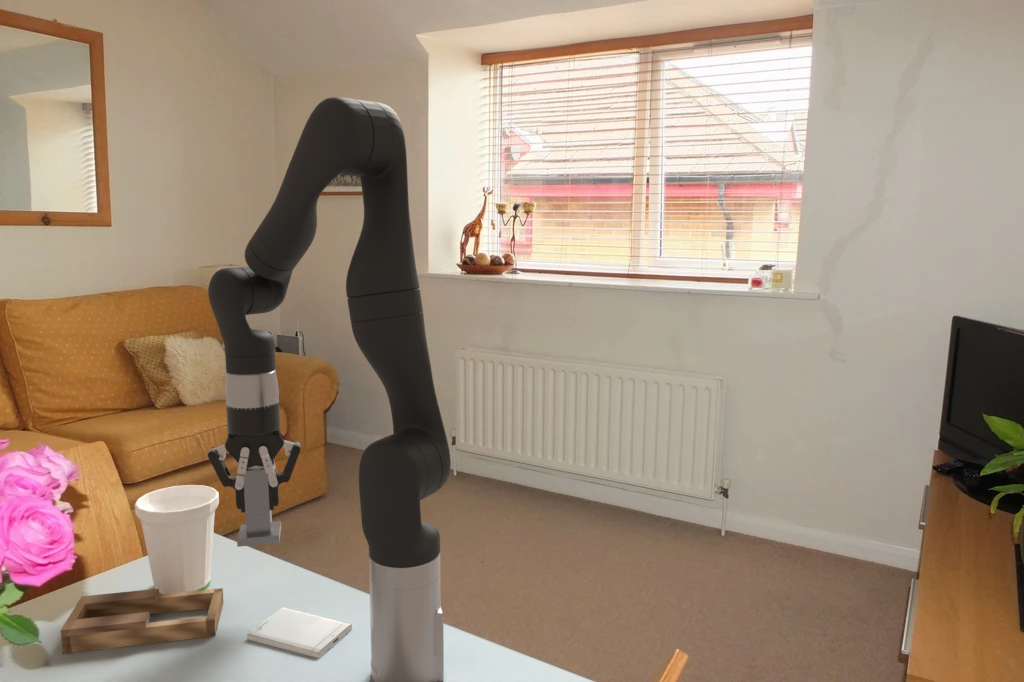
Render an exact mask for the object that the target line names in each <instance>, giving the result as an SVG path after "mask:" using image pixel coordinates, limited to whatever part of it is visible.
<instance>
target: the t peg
mask: <svg viewBox="0 0 1024 682" xmlns="http://www.w3.org/2000/svg"><path fill="white" fill-rule="evenodd" d="M243 479H244V497H245V512H244V514H245V523H243V524H241V525H240V526H239V531H238V534H237V538H236V544H237V545H236V547H250V546H259V545H260V546H261V545H270V544H271V545H272V544H277V543H278V544H280V539H281V532H282V521H281V520H276V521H273V515H272V510H270V504H269V480H268V474H266V472H265V469H264V466H263V467H260V466H253V467H249V468H247V469H246V474H245V476H243Z"/></svg>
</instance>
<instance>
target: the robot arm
mask: <svg viewBox="0 0 1024 682" xmlns="http://www.w3.org/2000/svg"><path fill="white" fill-rule="evenodd" d="M406 146H407V144H406V136H405V132H404V128H403V125H402V122H401V120H400V117H399V115H398V113H396V111H395V110H394V109H393V108H392V107H390V106H389V105H388V104H385V103H383V102H378V101H372V100H364V99H359V98H358V99H357V98H351V97H342V96H332V97H328V98H325V99H323V100H322V101H321V102H319V103H318V104H317V105H316V106H315V108H314V109H313V110H312V112H311V113H310V115H309V117H308V119H307V121H306V122H305V125H304V127H303V129H302V132H301V135H300V137H299V139H298V142H297V145H296V147H295V149H294V152H293V155H292V157H291V159H290V162H289V164H288V167H287V169H286V172H285V175H284V178H283V180H282V182H281V185H280V188H279V190H278V192H277V195H276V197H275V199H274V201H273V203H272V205H271V207H270V208H269V211H268V212H267V214H266V215H265V216H264V218H263V219H262V221H261V223H260V224H259V226H258V227H257V229H256V230H255V232H254V233H253V235H252V236H251V238H250V240H249V241H248V243H247V245H246V247H245V250H244V260H245V263H246V265H247V266H238V267H223V268H220V269H219V270H216V272H215V273H214V274H213V275H212V276H211V278H210V281H209V283H208V288H207V289H208V290H207V292H208V293H207V294H208V296H207V297H208V300H209V304H210V306H211V309H212V312H213V315H214V317H215V320H216V323H217V327H218V330H219V332H220V336H221V339H222V342H223V345H224V355H225V358H224V359H225V372H226V373H225V385H224V388H225V389H224V390H225V391H224V392H225V406H226V423H227V425H226V426H227V437H226V440H225V443H224V444H222V445H219V446H217V447H216V446H212V447H211V448H210V449H209V451H208V453H207V458H208V459H209V461H210V463H211V466H212V467H213V470H214V471H215V474H216V476H217V477H218V479H219V481H220V483H221V485H222V487H224V488H226V487H227V488H228V487H230V488H232V489H234V491H235V505H236V508H237V510H240V511H241V514H243V513H244V514H245V497H244V479H243V476H245V474H246V469H247V468H249V467H253V466H260V467H263V466H264V469H265V472H266V474H268V480H269V504H270V510H271V511H274V510H275V507H278V506H279V503H280V489H279V486H280V485H281V484H282V483H289V481H290V479H291V476H292V474H293V471H294V469H295V467H296V463H297V461H298V458H299V456H300V452H301V446H302V445H301V442H299V441H294V442H293V441H291V440H286V439H285V436H283V434H282V431H281V420H280V416H281V414H280V413H281V412H280V400H279V397H280V389H279V382H278V376H277V370H276V366H277V365H276V350H275V348H276V347H275V340H274V336H273V335H272V333H271V332H269V331H266V330H262V329H252V328H251V326H250V324H249V322H248V320H247V317H246V316H249V315H250V316H251V315H259V314H267V313H271V312H273V311H274V310H277V308H278V307H280V305H282V303H283V302H284V300H285V298H286V295H287V292H288V288H289V284H290V282H291V277H292V274H293V271H294V269H295V268H296V266H298V264H299V263H300V261H301V260H302V258H303V257H304V255H305V254H306V253H307V252H308V250H309V248H310V247H311V245H312V243H313V242H314V239H315V236H316V232H317V227H318V213H317V212H318V211H317V209H318V208H317V206H318V200H319V198H320V196H321V194H322V193H323V192H324V190H325V189H326V188H327V187H328V185H329V184H330V183H332V181H334V179H336V178H337V177H338V176H339V175H342V176H353V177H355V176H356V177H359V179H360V180H359V181H360V184H361V190H362V200H363V201H362V202H363V221H362V226H361V227H362V228H361V231H360V233H359V234H360V235H359V238H358V240H357V243H356V245H355V249H354V252H353V254H352V257H351V259H350V264H349V267H348V270H347V275H346V280H345V290H346V291H345V292H346V298H347V307H348V312H349V313H348V314H349V319H350V325H351V329H352V335H353V337H354V340H355V342H356V344H357V346H358V348H359V350H360V351H361V353H362V355H363V356H364V358H365V359H366V361H367V362H368V364H369V365H370V366H371V368H372V370H374V372H375V374H376V375H377V377H378V378H379V380H380V382H381V383H382V385H383V387H384V389H385V392H386V395H387V398H388V401H389V403H388V404H389V407H390V412H391V420H392V428H393V429H392V430H393V431H392V434H390V435H388V436H384V437H383V438H382V437H381V438H380V439H378V440H375V441H373V442H372V443H370V444H369V445H368V446H367V447H366V448H365V449H364V450H363V452H362V455H361V457H360V461H359V467H358V492H359V503H360V505H359V506H360V516H361V528H362V532H363V535H364V537H365V540H366V542H367V545H368V567H369V568H368V569H369V607H370V608H369V612H370V619H369V620H370V652H371V653H370V668H371V679H372V682H443V681H444V677H445V676H444V675H445V674H444V673H445V672H444V670H445V668H444V667H445V666H444V665H445V663H444V661H445V659H444V655H445V654H444V653H445V652H444V651H445V649H444V647H445V645H444V639H445V638H444V613H443V608H442V606H441V605H442V604H441V537H440V536H441V534H440V532H439V529H438V528H437V527H436V526H435V525H434V524H432V523H429V522H427V521H424V520H422V515H421V514H422V512H421V501H422V500H424V499H426V498H427V497H429V496H431V495H432V494H435V493H436V492H438V491H439V490H441V489H442V488H443V487H444V486H445V484H446V483H447V481H448V480H449V479H448V478H449V476H450V472H451V468H452V467H451V465H452V464H451V463H452V462H451V454H450V448H449V447H450V446H449V441H448V437H447V433H446V429H445V426H444V422H443V417H442V414H441V413H442V412H441V409H440V405H439V403H438V398H437V393H436V390H435V383H434V379H433V378H434V377H433V371H432V364H431V361H430V353H429V348H428V342H427V341H428V340H427V335H426V328H425V326H426V325H425V315H424V309H423V302H422V296H421V295H422V294H421V290H420V289H421V288H420V282H419V276H418V272H417V266H416V257H415V250H414V243H413V234H412V233H413V232H412V226H411V225H412V224H411V214H410V202H409V201H410V200H409V183H408V181H409V180H408V159H407V158H408V157H407V155H408V154H407V147H406ZM282 448H283V449H284V451H285V452H284V454H285V456H286V457H287V459H286V463H285V465H284V468H283V471H281V472H279V473H278V470H277V466H276V462H275V458H276V457H277V455H278V454H279V452H280V451H281V449H282ZM226 452H228V454H229V455H231V457H232V458H233V459H234V460H235V461H236V462H237V465H238V466H237V470H236V471H237V472H236V476H233V475H232V474H231V472H230V470H229V468H228V465H227V464H226V462H225V459H226V457H227V454H226Z"/></svg>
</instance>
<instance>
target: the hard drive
mask: <svg viewBox="0 0 1024 682" xmlns="http://www.w3.org/2000/svg"><path fill="white" fill-rule="evenodd" d="M352 630H353V624H351V623H347V622H343V621H341V620H340V621H339V620H335V619H331V618H327V617H323V616H320V615H315V614H312V613H308V612H307V613H306V612H304V611H299V610H296V609H291V608H287V607H285V606H283V607H281V608H279V609H278V610H277V611H275V612H274V613H272V614H271V615H270V616H268V617H267V618H266V619H263V621H262V622H260V623H259V624H257V625H256V626H255V627H253V628H252V629H251V630H249V631H248V633H247V640H248V639H249V641H252V642H256V641H257V642H256V643H261V644H265V645H268V646H272V647H275V648H279V649H283V650H287V651H291V652H293V653H294V652H295V653H298V654H301V655H306V656H309V657H313V658H317V659H320V658H322V656H323V655H324V654H326V653H327V652H329V650H330V649H332V647H333V646H335V645H336V644H337V643H338V642H339V641H341V640H342V639H343V638H344V637H345V636H346V635H347V634H348V633H350V632H351V631H352Z"/></svg>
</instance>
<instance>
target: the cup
mask: <svg viewBox="0 0 1024 682" xmlns="http://www.w3.org/2000/svg"><path fill="white" fill-rule="evenodd" d="M219 493H220V492H219V491H218V490H217V489H215V488H214V487H212V486H207V485H203V484H200V485H199V484H185V485H172V486H169V487H164V488H158V489H156V490H153V491H150V492H148V493H145V494H143V495H142V496H140V497H139V498H137V500H136V502H135V503H134V511H135V512H134V513H135V515H136V516H137V518H138V519H139V520H140V524H141V529H142V534H143V537H144V543H145V547H146V552H147V556H148V562H149V567H150V568H149V569H150V573H151V578H152V582H153V589H159V594H170V593H180V592H190V591H199V590H207V588H208V587H209V586H210V584H211V575H212V561H213V559H212V558H213V557H212V556H213V547H214V546H213V545H214V530H215V529H214V528H215V516H216V514H215V513H216V509H217V508H218V507H219V503H220V495H219Z"/></svg>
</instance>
